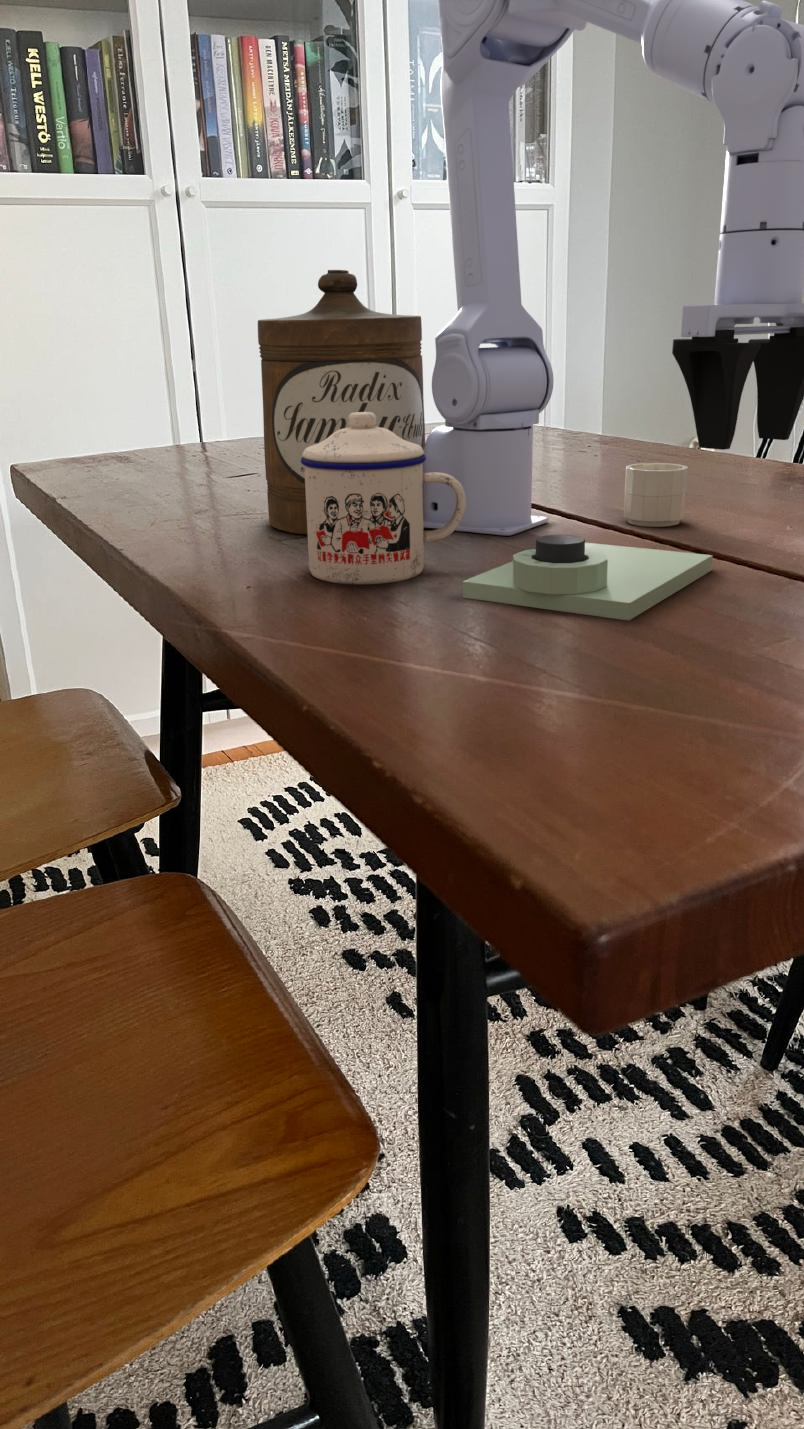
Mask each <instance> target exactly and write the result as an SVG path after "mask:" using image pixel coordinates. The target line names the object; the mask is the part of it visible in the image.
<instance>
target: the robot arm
mask: <svg viewBox="0 0 804 1429" xmlns="http://www.w3.org/2000/svg"><path fill="white" fill-rule="evenodd" d="M438 14H439V26H440V27H439V28H440V41H441V52H442V54H441V55H442V63H441V74H440V101H441V102H440V103H441V113H442V114H441V115H442V125H443V138H444V140H443V141H444V151H445V164H446V178H447V189H448V190H447V192H448V202H449V203H448V204H449V216H450V228H451V230H450V231H451V242H452V243H451V244H452V254H453V267H454V268H453V269H454V278H455V294H456V305H457V313H456V314H455V315H454V316H453V317H452V318H451V320H450V321H448V322H447V324H446V325H445V326H444V327H443V328H442V329H441V330H440V331H439V332H438V333H437V335H436V336H435V338H434V342H435V363H434V367H433V372H432V376H431V394H432V400H433V402H434V405H435V407H436V409H437V411H438V413H439V414H440V416H441V417H442V418H443V419H444V422H445V423H444V425H440V426H436V427H434V429H432V430H431V431H430V433H429V434H428V436H427V438H426V439H425V447H424V455H425V456H426V460H425V461H424V462H423V473H431V472H439V473H445V474H448V475H451V476H452V477H454V478H455V479H456V480H457V481H458V482H459V483H460V484H461V485H462V487H463V489H464V492H465V496H466V506H465V511H464V515H463V517H462V520H461V522H460V524H459V525H458V527H457V528H456V529H455V530H454V531H455V532H464V533H465V532H466V533H474V534H475V533H476V534H485V535H493V536H495V535H496V536H506V537H507V536H508V537H509V536H513V535H516V534H519V533H522V532H524V531H527V530H530V529H533V528H535V527H538V526H541V525H544V524H547V523H549V522H550V520H549V517H548V516H543V515H542V516H541V515H532V496H533V495H532V492H533V490H532V489H533V487H532V486H533V454H534V453H533V450H534V425H539V423H540V414H541V413H543V411H544V410H545V409H546V407H547V406H548V404H549V402H550V400H551V398H552V394H553V391H554V390H553V389H554V370H553V367H552V364H551V361H550V360H549V357H548V355H547V352H546V349H545V345H544V333H543V329H542V327H541V326H540V325H539V323H538V322H537V321H536V320H535V319H534V317H533V316H532V315H531V314H530V313H529V312H528V311H527V310H526V308H524V306H523V304H522V303H523V302H522V290H521V274H520V273H521V272H520V260H519V259H520V257H519V242H518V240H519V239H518V227H517V211H516V195H515V179H514V178H515V177H514V165H513V164H514V162H513V149H512V148H513V147H512V133H511V116H510V102H511V100H512V97H514V95H515V93H516V92H517V90H518V88H520V87H522V86H525V85H526V84H527V83H528V82H529V81H530V80H531V79H532V78H533V77H534V76H535V75H536V74H537V72H539V71H540V70H541V69H542V67H544V66H545V64H546V63H547V62H548V61H549V60H550V59H551V58H553V56H554V55H555V54H556V53H557V52H558V51H559V50H560V49H561V48H562V47H563V45H565V44H566V42H567V41H568V39H570V37H571V36H572V34H573V33H574V31H579V32H581V31H583V30H585V29H586V27H587V24H588V23H589V24H591V25H594V26H596V27H599V28H601V29H603V30H605V31H608V32H610V33H613V34H615V35H618V36H620V37H623V38H626V39H628V40H630V41H632V42H634V43H637V44H640V45H641V47H642V48H641V49H642V57H643V61H644V64H645V66H646V69H647V70H648V71H649V72H650V73H651V74H652V75H654V76H656V77H657V78H660V79H662V80H664V81H666V82H668V83H670V84H672V85H674V86H676V87H678V88H680V89H682V90H684V91H686V92H689V93H690V94H692V95H695V96H697V97H698V98H700V99H703V100H704V101H707V102H709V103H711V104H713V105H714V106H715V107H716V110H717V111H718V113H719V114H720V116H721V118H722V121H723V142H722V144H723V146H726V154H725V163H724V164H725V165H724V168H725V169H724V177H723V178H724V179H723V191H722V202H721V203H722V204H721V215H720V216H721V217H720V230H719V240H718V242H719V243H718V252H717V265H716V275H715V276H716V279H715V289H714V291H715V292H714V302H713V304H692V305H691V304H690V305H682V315H681V328H680V329H681V330H680V337H681V338H673V339H672V347H671V348H672V349H671V354H672V356H673V357H674V359H675V361H676V363H677V365H678V367H679V369H680V371H681V374H682V376H683V379H684V382H685V384H686V389H687V391H688V394H689V399H690V403H691V408H692V409H691V410H692V414H693V419H694V420H693V421H694V425H695V426H694V427H695V430H696V437H697V443H698V447H699V448H700V449H710V450H711V449H712V450H724V451H725V450H730V449H731V446H732V443H733V440H734V437H735V433H736V429H737V423H738V416H739V412H740V404H741V400H742V399H741V398H742V395H743V391H744V388H745V384H746V382H747V378H748V375H749V373H750V370H751V368H752V365H753V366H754V371H755V372H754V373H755V379H756V390H757V391H756V393H757V394H756V395H757V396H756V397H757V399H756V427H757V434H758V439H762V440H763V439H765V440H775V441H787V440H789V439H790V436H791V434H792V431H793V428H794V426H795V423H796V421H797V417H798V414H799V412H800V409H801V406H802V403H803V401H804V302H803V301H804V24H800V23H797V22H794V21H790V20H787V19H783V18H781V17H782V14H783V7H782V6H781V5H780V4H776V3H774V2H770V1H768V0H762V1H760V3H759V4H758V5H754V4H753V3H750V2H748V1H745V0H438ZM755 318H758V324H775V325H757V326H756V325H755V326H736V325H753V324H754V322H755ZM768 334H773V335H770V336H769V338H752V339H749V340H748V341H747V342H739V338H736V337H735V336H742V335H744V336H746V335H768ZM486 344H488V345H489V344H491V345H495V346H493V347H491V346H490V347H480V345H486ZM456 503H457V497H456V493H455V491H454V490H453V489H452V488H451V487H450V486H448V485H447V484H444V483H423V528H424V529H434V530H437V529H440V528H442V527H443V526H445V525H446V524H447V523H448V522H449V521H450V519H451V518H452V516H453V514H454V511H455V508H456ZM454 531H453V532H454Z"/></svg>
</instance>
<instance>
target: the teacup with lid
mask: <svg viewBox="0 0 804 1429" xmlns="http://www.w3.org/2000/svg"><path fill="white" fill-rule="evenodd" d="M348 423H349V425H350V427H348V428H343V429H340V430H338V431H336V432H334V433H333V434H332V435H330V436H329V437H328V438H327V439H325V440H324V441H322V442H320V443H318V444H315V445H312V446H309V447H307V448H306V449H305V450H304V452H303V454H302V456H303V457H302V458H301V463H302V464H303V465H304V469H305V490H306V510H307V530H308V535H307V547H308V548H307V549H308V550H307V551H308V566H309V567H308V569H309V572H310V574H311V575H312V576H313V577H314V578H316V579H318V580H321V581H323V582H327V583H333V584H341V585H358V586H359V585H361V586H363V585H366V586H367V585H383V584H390V583H392V584H393V583H397V582H403V581H406V580H410V579H413V578H415V577H417V576H418V575H420V574H422V572H423V571H424V566H425V562H424V560H425V558H424V554H425V550H424V549H425V548H424V543H426V542H427V543H428V542H435V541H440V540H443V539H445V538H447V537H448V536H450V535H451V534H452V533H453V532H454V530H455V529H456V528H457V527H458V525H459V524H460V522H461V520H462V517H463V515H464V511H465V506H466V496H465V492H464V489H463V487H462V485H461V484H460V483H459V482H458V481H457V480H456V479H455V478H454V477H452V476H451V475H448V474H445V473H439V472H431V473H423V462H424V461H425V460H426V456H425V455H424V451H423V449H422V447H421V446H419V445H417V444H414V443H411V442H408V441H405V440H403V439H401V438H400V437H398V436H397V435H395V434H394V433H393V432H391V431H390V430H388V429H385V428H381V427H374V426H375V425H376V416H375V414H374V413H372V412H355V413H351V414H350V415H349V417H348ZM423 483H444V484H447V485H448V486H450V487H451V488H452V489H453V490H454V491H455V493H456V497H457V503H456V508H455V511H454V514H453V516H452V518H451V519H450V521H449V522H448V523H447V524H446V525H445V526H443V527H442V528H440V529H432V530H424V527H423Z"/></svg>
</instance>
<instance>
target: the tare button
mask: <svg viewBox="0 0 804 1429" xmlns="http://www.w3.org/2000/svg"><path fill="white" fill-rule="evenodd" d="M585 542H586V538H584V537H581V536H578V535H572V534H548V535H542V536H539V537H536V539H535V549H536V557H535V560H537V561H540V562H548V563H575V562H582V561H584V556H585Z"/></svg>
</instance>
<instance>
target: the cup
mask: <svg viewBox="0 0 804 1429" xmlns="http://www.w3.org/2000/svg"><path fill="white" fill-rule="evenodd" d="M688 475H689V467H688V466H687V465H683V464H679V463H667V462H644V463H643V462H642V463H641V462H640V463H631V464H629V465H626V466H625V476H624V494H623V511H622V512H623V514H622V515H623V518H625V519H626V522H627V523H628V524H630V525H633V526H639V527H649V528H652V527H653V528H662V527H663V528H664V527H671V526H673V527H674V526H676V525H677V526H678V525H679V524H680V522H681V520H683V519H685V515H686V503H687V502H686V501H687V489H688V478H689V476H688Z"/></svg>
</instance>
